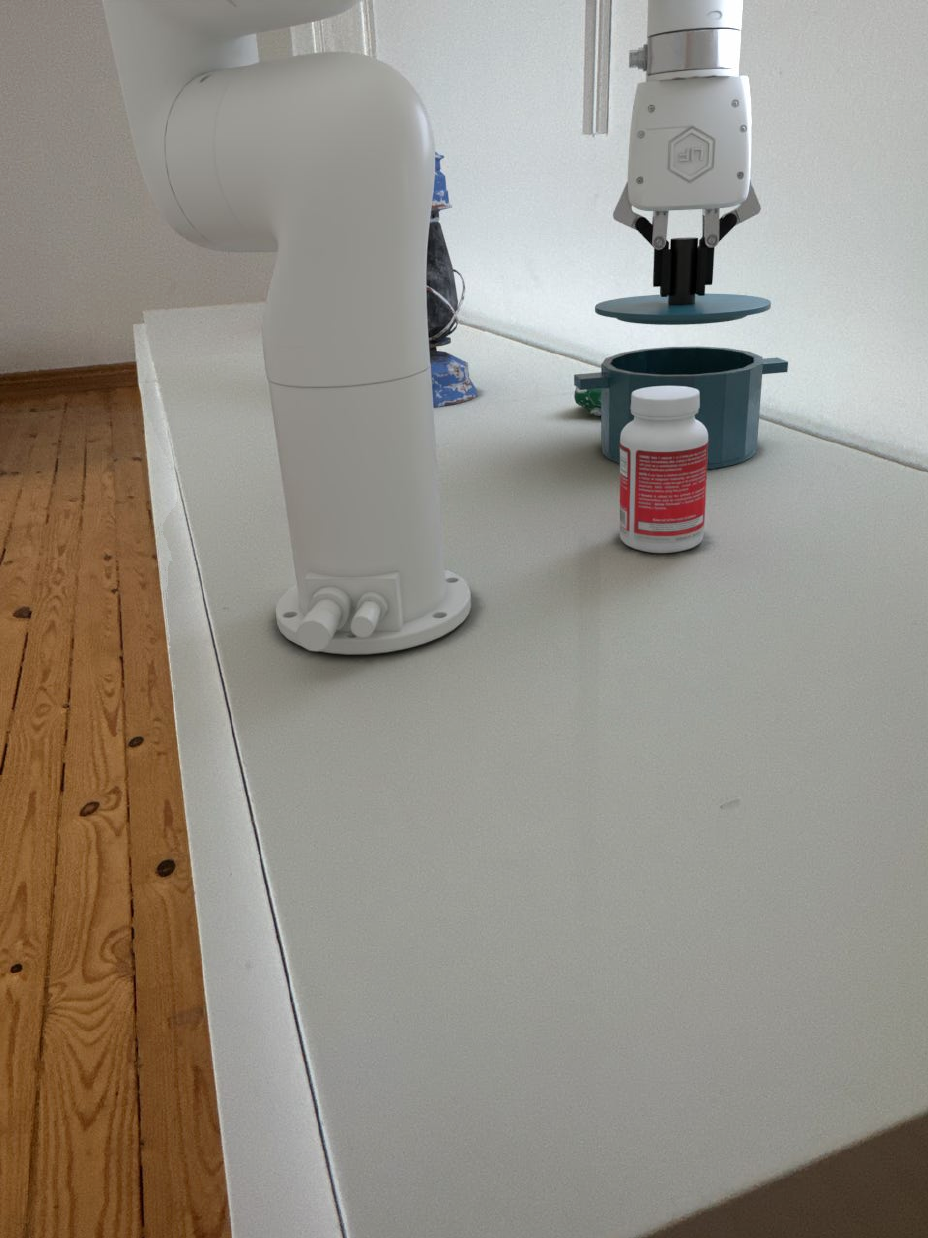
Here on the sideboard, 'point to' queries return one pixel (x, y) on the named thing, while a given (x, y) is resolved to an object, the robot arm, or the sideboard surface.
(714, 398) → the teal cooking pot
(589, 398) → the gaming controller
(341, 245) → the robot arm
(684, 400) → the pill bottle
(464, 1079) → the sideboard surface
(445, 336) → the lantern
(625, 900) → the sideboard surface
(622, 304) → the pot lid
